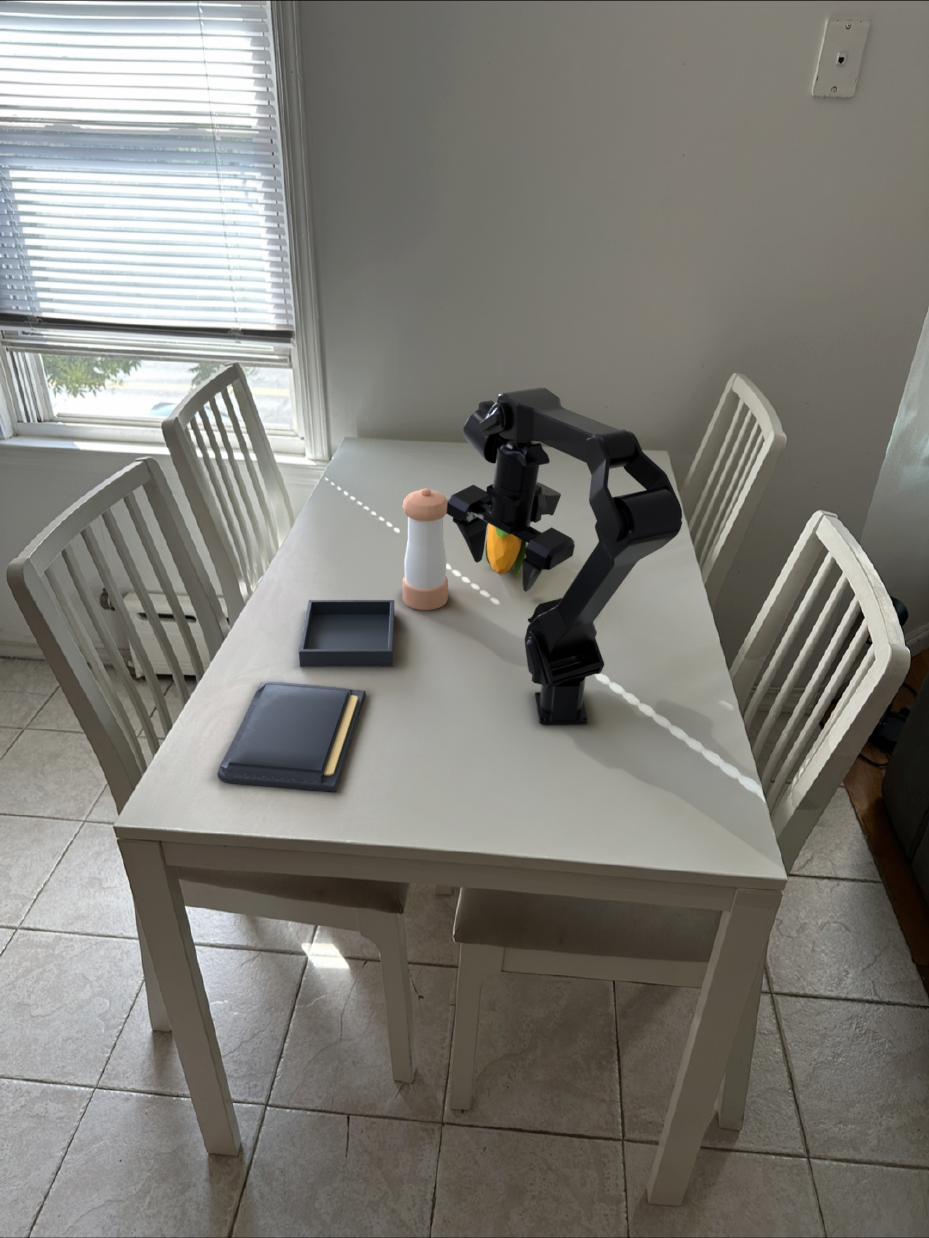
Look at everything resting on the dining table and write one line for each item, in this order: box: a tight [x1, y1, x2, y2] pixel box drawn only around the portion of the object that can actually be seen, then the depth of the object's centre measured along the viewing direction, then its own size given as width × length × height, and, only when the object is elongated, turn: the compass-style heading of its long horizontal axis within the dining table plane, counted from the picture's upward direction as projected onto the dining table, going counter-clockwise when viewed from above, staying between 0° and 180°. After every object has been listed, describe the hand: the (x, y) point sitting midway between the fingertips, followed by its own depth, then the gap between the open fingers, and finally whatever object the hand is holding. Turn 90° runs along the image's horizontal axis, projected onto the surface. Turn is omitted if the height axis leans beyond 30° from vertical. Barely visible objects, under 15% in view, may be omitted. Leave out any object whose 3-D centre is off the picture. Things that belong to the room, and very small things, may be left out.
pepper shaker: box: [402, 487, 449, 611], centre depth 144 cm, size 7×7×19 cm
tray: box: [298, 599, 395, 667], centre depth 138 cm, size 14×13×3 cm
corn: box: [485, 523, 527, 576], centre depth 158 cm, size 7×8×20 cm
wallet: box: [216, 681, 367, 793], centre depth 118 cm, size 20×2×15 cm
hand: (502, 575), depth 132 cm, fingers open, 9 cm apart
